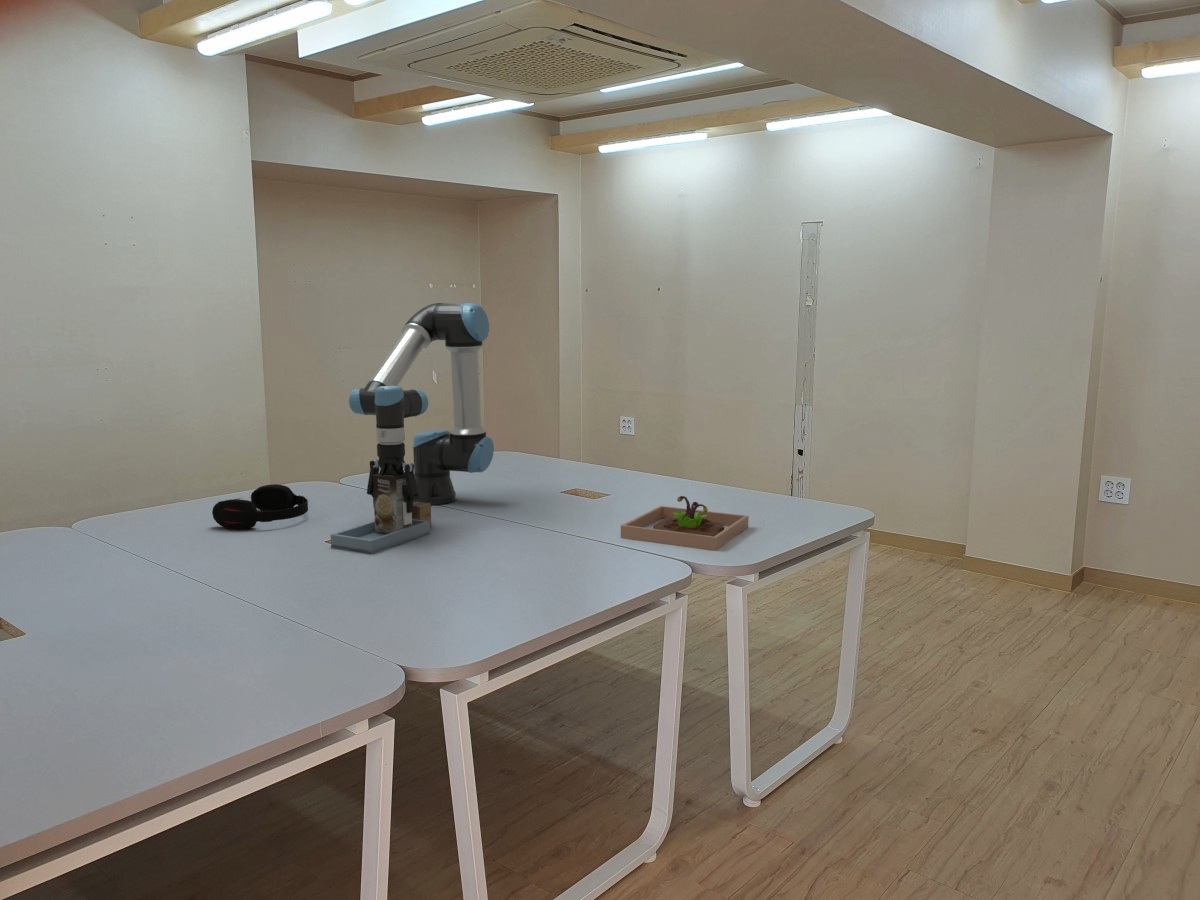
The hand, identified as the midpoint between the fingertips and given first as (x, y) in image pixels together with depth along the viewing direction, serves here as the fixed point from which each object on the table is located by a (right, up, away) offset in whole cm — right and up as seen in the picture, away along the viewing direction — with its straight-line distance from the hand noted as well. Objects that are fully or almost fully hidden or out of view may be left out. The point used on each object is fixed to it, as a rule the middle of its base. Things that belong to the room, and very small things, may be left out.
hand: (393, 521), depth 244 cm
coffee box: (0, -3, 0) cm, 3 cm away
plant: (+83, -4, +5) cm, 83 cm away
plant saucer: (+82, -3, +6) cm, 83 cm away
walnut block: (+5, -3, +10) cm, 12 cm away
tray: (-2, -5, -4) cm, 6 cm away
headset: (-45, -1, +19) cm, 49 cm away
